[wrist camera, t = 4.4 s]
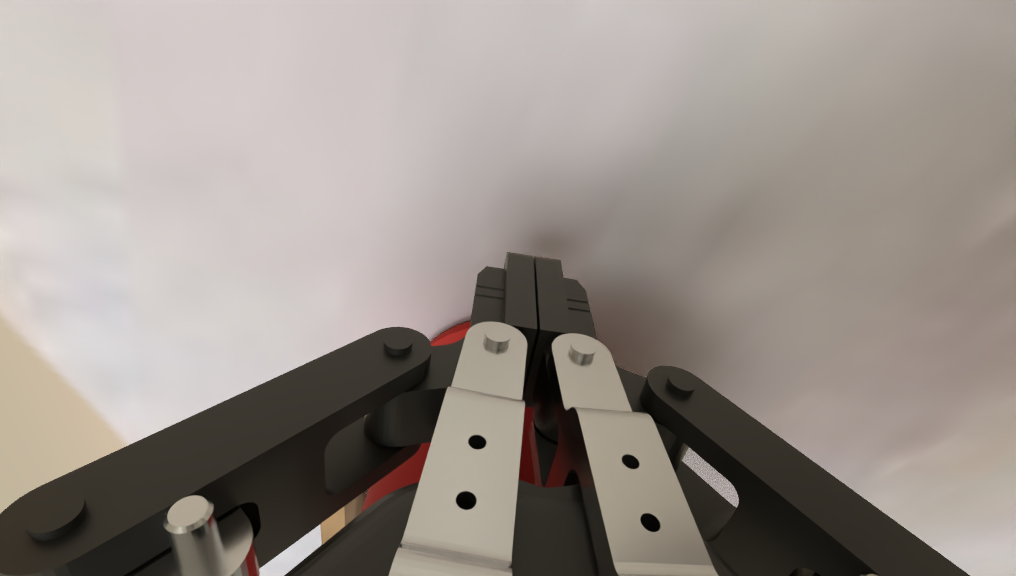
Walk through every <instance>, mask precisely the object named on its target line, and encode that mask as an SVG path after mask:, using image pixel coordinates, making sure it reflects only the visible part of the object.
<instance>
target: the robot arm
mask: <svg viewBox="0 0 1016 576" xmlns="http://www.w3.org/2000/svg"><path fill="white" fill-rule="evenodd" d="M525 407H532V408H533V418H532V422H531V426H530V430H529V437H530V446H531V454H532V463H533V471H534V480H535V485H533V484H531V483H528V482H525V481H522V480H519V467H520V456H521V445H522V433H523V422H524V411H525ZM429 442H431V444H430V448H429V451H428V455H427V458H426V461H425V465H424V468H423V471H422V475H421V478H420V482H418V483H413V484H410V485H407V486H404V487H402V488H399V489H397V490H395V491H393V492H391V493H389V494H387V495H385V496H384V497H382V498H381V499H379V500H377V501H376V502H374V503H373V504H372V505H370V506H369V507H368V508H366V509H365V510H364V511H363V512H362V513H360V514H359V515H358V516H357V517H355V518H354V519H353V520H352V521H351V522H349V523H348V524H347V525H346V526H344V527H343V528H342V529H341V530H340V531H338V532H337V533H336V534H335V535H333V536H332V537H331V538H330V539H329V540H327V541H326V542H325V543H324V544H323V545H321V546H320V547H319V548H318V549H316V550H315V551H314V552H313V553H312V554H310V555H309V556H308V557H307V558H305V559H304V560H303V561H302V562H301V563H299V564H298V565H297V566H296V567H294V568H293V569H292V570H291V571H290V572H288V573H287V574H286V575H285V576H970V575H968V574H967V573H966V572H964V571H963V570H962V569H960V568H959V567H957V566H956V565H955V564H953V563H952V562H951V561H949V560H948V559H946V558H945V557H944V556H942V555H941V554H940V553H938V552H937V551H935V550H934V549H933V548H931V547H930V546H929V545H927V544H926V543H924V542H923V541H922V540H920V539H919V538H918V537H916V536H915V535H913V534H912V533H911V532H909V531H908V530H907V529H905V528H904V527H902V526H901V525H900V524H898V523H897V522H896V521H894V520H893V519H891V518H890V517H889V516H887V515H886V514H885V513H883V512H882V511H880V510H879V509H878V508H876V507H875V506H874V505H872V504H871V503H869V502H868V501H867V500H865V499H864V498H863V497H861V496H860V495H858V494H857V493H856V492H854V491H853V490H852V489H850V488H849V487H848V486H846V485H845V484H843V483H842V482H841V481H839V480H838V479H837V478H835V477H834V476H832V475H831V474H830V473H828V472H827V471H826V470H824V469H823V468H821V467H820V466H819V465H817V464H816V463H815V462H813V461H812V460H810V459H809V458H808V457H806V456H805V455H804V454H802V453H801V452H799V451H798V450H797V449H795V448H794V447H793V446H791V445H790V444H788V443H787V442H786V441H784V440H783V439H782V438H780V437H779V436H777V435H776V434H775V433H773V432H772V431H771V430H769V429H768V428H766V427H765V426H764V425H762V424H761V423H760V422H758V421H757V420H755V419H754V418H753V417H751V416H750V415H749V414H747V413H746V412H744V411H743V410H742V409H740V408H739V407H738V406H736V405H735V404H733V403H732V402H731V401H729V400H728V399H727V398H725V397H724V396H722V395H721V394H720V393H718V392H717V391H716V390H714V389H713V388H712V387H710V386H709V385H707V384H706V383H705V382H703V381H702V380H701V379H699V378H698V377H696V376H695V375H693V374H691V373H690V372H688V371H685V370H683V369H680V368H677V367H672V366H659V367H656V368H654V369H652V370H651V371H650V372H649V374H648V376H647V378H644V377H642V376H639V375H636V374H633V373H631V372H628V371H626V370H623V369H621V368H619V367H617V366H616V365H615V364H614V361H613V358H612V355H611V353H610V351H609V350H608V349H607V347H606V346H605V345H603V344H602V343H601V342H599V341H598V340H597V338H596V334H595V329H594V325H593V320H592V316H591V313H590V307H589V304H588V299H587V294H586V290H585V289H584V288H583V287H582V286H581V285H580V284H579V283H578V281H577V280H573V279H567V278H563V272H562V266H561V261H560V260H555V259H549V258H542V257H536V256H535V257H534V259H533V256H529V255H523V254H516V253H510V252H507V256H506V261H505V266H504V269H501V268H494V267H488V266H487V267H485V268H484V269H483V270H482V271H481V272H480V273H479V274H478V277H477V283H476V290H475V296H474V303H473V310H472V316H471V323H470V329H469V330H468V331H467V333H466V336H465V337H464V338H462V339H461V340H459V341H457V342H454V343H451V344H447V345H439V346H431V343H430V341H429V340H428V338H427V337H426V336H424V335H423V334H422V333H420V332H418V331H416V330H413V329H410V328H404V327H390V328H385V329H381V330H378V331H376V332H374V333H372V334H369V335H367V336H365V337H363V338H361V339H359V340H356V341H354V342H352V343H350V344H348V345H346V346H343V347H341V348H339V349H337V350H335V351H333V352H330V353H328V354H326V355H324V356H322V357H319V358H317V359H315V360H313V361H311V362H309V363H306V364H304V365H302V366H300V367H298V368H296V369H293V370H291V371H289V372H287V373H285V374H283V375H280V376H278V377H276V378H274V379H272V380H270V381H267V382H265V383H263V384H261V385H259V386H257V387H254V388H252V389H250V390H248V391H246V392H244V393H241V394H239V395H237V396H235V397H233V398H230V399H228V400H226V401H224V402H222V403H220V404H217V405H215V406H213V407H211V408H209V409H207V410H204V411H202V412H200V413H198V414H196V415H194V416H191V417H189V418H187V419H185V420H183V421H181V422H178V423H176V424H174V425H172V426H170V427H168V428H165V429H163V430H161V431H159V432H157V433H155V434H152V435H150V436H148V437H146V438H144V439H142V440H139V441H137V442H135V443H133V444H131V445H128V446H126V447H124V448H122V449H120V450H118V451H115V452H113V453H111V454H109V455H107V456H105V457H102V458H100V459H98V460H96V461H94V462H92V463H89V464H87V465H85V466H83V467H81V468H79V469H76V470H74V471H72V472H70V473H68V474H66V475H63V476H61V477H59V478H57V479H55V480H53V481H50V482H48V483H46V484H44V485H42V486H40V487H38V488H36V489H34V490H32V491H30V492H29V493H27V494H25V495H24V496H22V497H20V498H19V499H18V500H16V501H15V502H14V503H12V504H11V505H10V506H9V507H8V508H7V509H5V510H4V511H3V512H2V513H1V514H0V576H259V568H261V567H262V566H264V565H265V564H266V563H268V562H269V561H270V560H272V559H273V558H274V557H276V556H277V555H279V554H280V553H281V552H283V551H284V550H285V549H287V548H288V547H289V546H291V545H292V544H294V543H295V542H296V541H298V540H299V539H300V538H302V537H303V536H304V535H306V534H307V533H309V532H310V531H311V530H313V529H314V528H315V527H317V526H318V525H319V524H321V523H322V522H324V521H325V520H326V519H328V518H329V517H330V516H332V515H333V514H334V513H336V512H337V511H339V510H340V509H341V508H343V507H344V506H345V505H347V504H348V503H349V502H351V501H352V500H354V499H355V498H356V497H358V496H359V495H360V494H362V493H363V492H364V491H366V490H367V489H369V488H370V487H371V486H373V485H374V484H375V483H377V482H378V481H379V480H381V479H382V478H384V477H385V476H386V475H388V474H389V473H390V472H392V471H393V470H394V469H396V468H397V467H399V466H400V465H401V464H403V463H404V462H405V461H407V460H408V459H409V458H411V457H412V456H413V455H415V454H416V453H417V451H418V450H419V448H420V446H421V444H422V443H429ZM689 447H690V448H691V449H692V450H693V451H694V452H696V453H697V454H698V455H699V456H700V457H701V458H703V459H704V460H705V461H706V462H707V463H709V464H710V465H711V466H712V467H713V468H714V469H716V470H717V471H718V472H719V473H720V474H721V475H723V476H724V477H725V478H726V479H727V480H728V481H730V482H731V484H732V485H733V486H734V487H735V489H736V491H737V493H738V496H739V505H738V507H737V508H736V507H734V506H733V505H732V504H730V503H729V502H728V501H727V500H726V499H725V498H723V497H722V496H721V495H720V494H719V493H718V492H717V491H715V490H714V489H713V488H712V487H711V486H710V485H709V484H708V483H706V482H705V481H704V480H703V479H702V478H701V477H700V476H698V475H697V474H696V473H695V472H694V471H693V470H692V469H690V468H689V467H688V466H687V465H686V464H685V463H684V462H682V459H683V457H684V455H685V454H686V452H687V450H688V448H689Z"/></svg>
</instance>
